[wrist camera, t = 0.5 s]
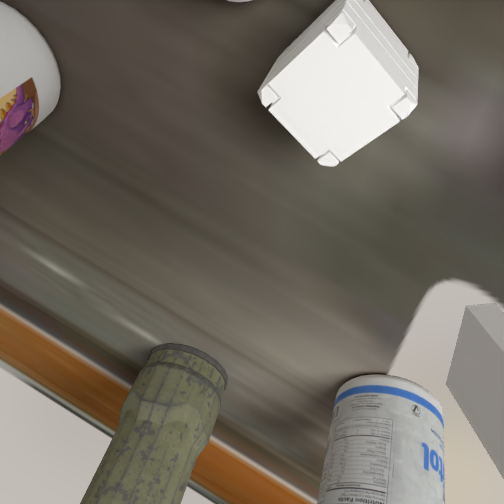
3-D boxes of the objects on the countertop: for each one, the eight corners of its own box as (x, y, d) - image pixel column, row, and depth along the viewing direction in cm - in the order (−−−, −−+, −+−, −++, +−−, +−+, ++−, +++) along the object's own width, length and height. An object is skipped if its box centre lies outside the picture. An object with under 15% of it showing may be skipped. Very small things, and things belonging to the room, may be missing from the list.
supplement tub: (459, 422, 43) (469, 617, 33) (365, 430, 48) (349, 599, 38) (414, 360, 39) (408, 561, 28) (316, 377, 44) (282, 550, 34)
